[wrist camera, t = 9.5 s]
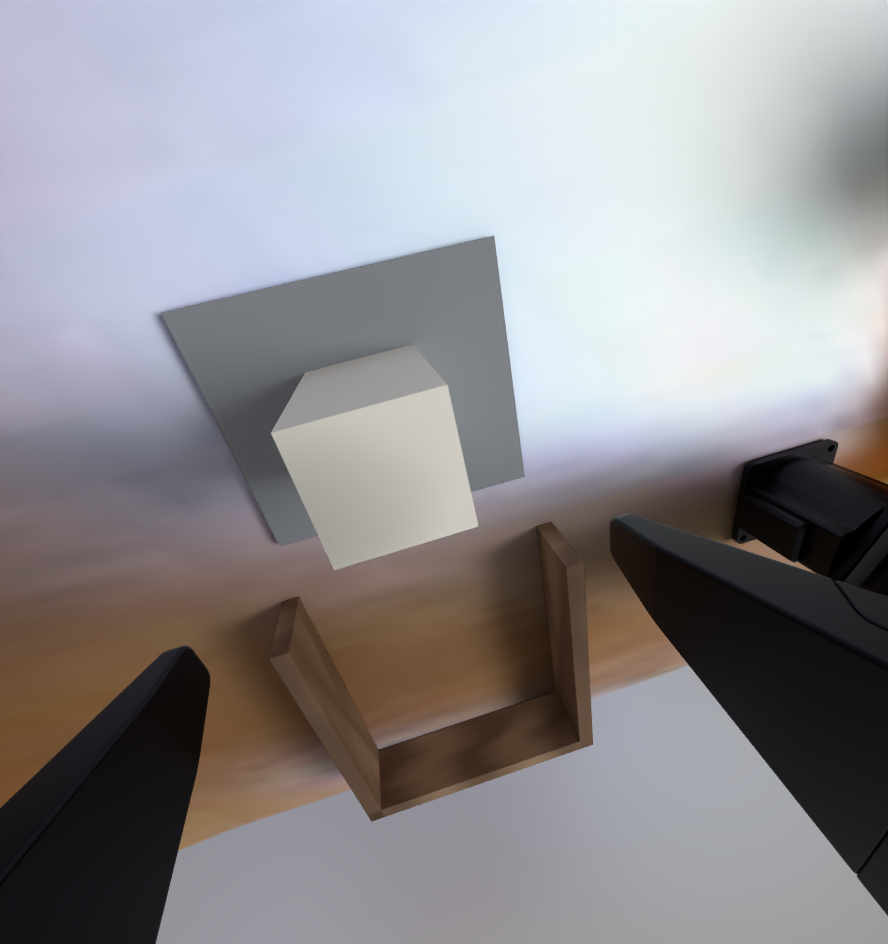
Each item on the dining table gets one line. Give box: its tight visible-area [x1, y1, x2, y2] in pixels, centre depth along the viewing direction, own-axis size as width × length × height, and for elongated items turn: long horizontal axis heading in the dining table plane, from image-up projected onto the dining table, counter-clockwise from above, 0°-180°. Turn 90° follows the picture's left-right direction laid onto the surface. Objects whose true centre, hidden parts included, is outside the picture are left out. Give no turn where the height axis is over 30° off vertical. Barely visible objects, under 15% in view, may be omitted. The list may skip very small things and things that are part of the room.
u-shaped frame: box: [269, 522, 593, 821], centre depth 26 cm, size 17×18×4 cm
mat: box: [161, 236, 524, 546], centre depth 19 cm, size 14×12×1 cm
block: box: [271, 344, 478, 570], centre depth 16 cm, size 5×5×8 cm
